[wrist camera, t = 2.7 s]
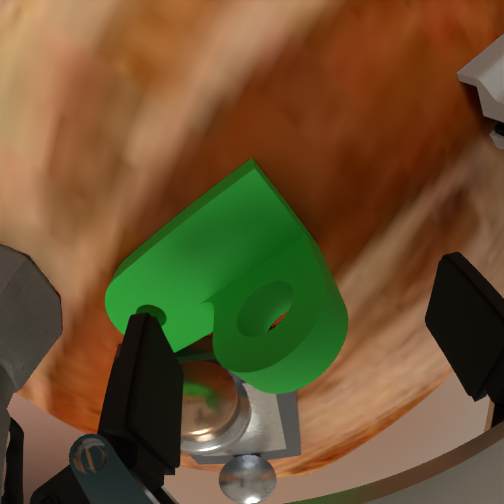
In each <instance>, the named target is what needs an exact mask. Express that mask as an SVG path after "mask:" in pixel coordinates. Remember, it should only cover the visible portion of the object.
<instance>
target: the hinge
mask: <svg viewBox="0 0 504 504" xmlns="http://www.w3.org/2000/svg"><path fill="white" fill-rule="evenodd" d="M456 74H457V76H458V79H459V81H461V82H464V83H467V84H470V85H474V86H476V87H477V90H478V94H479V98H480V102H481V107H482V111H483V116H486V117H489V118H491V121H494V122H497V124H496V125H495V126H494V130H493V131H492V132H491V133H490V136H491V138H492V140H493V142H494V144H495V146H496V147H497V148H500V149H502V150H504V34H503V35H501V36H500V37H499V38H498V39H496V40H495V41H494V42H493V43H492V44H490V45H489V46H488V47H487V48H486V49H484V50H483V51H482V52H481V53H480V54H478V55H477V56H476V57H475V58H474V59H473V60H471V61H470V62H469V63H468V64H467V65H465V66H464V67H463V68H462V69H461V70H459V71H458V72H457V73H456Z"/></svg>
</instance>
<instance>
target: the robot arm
mask: <svg viewBox="0 0 504 504" xmlns="http://www.w3.org/2000/svg"><path fill="white" fill-rule="evenodd" d="M425 323H426V326H427V328H428V329H429V331H430V332H431V334H432V336H433V337H434V339H435V340H436V342H437V343H438V345H439V347H440V348H441V350H442V352H443V353H444V355H445V356H446V358H447V360H448V361H449V363H450V365H451V367H452V368H453V370H454V372H455V373H456V375H457V377H458V378H459V380H460V382H461V384H462V386H463V387H464V389H465V391H466V393H467V394H468V395H469V396H472V398H473V400H474V401H475V402H476V401H478V400H480V399H482V398H483V397H485V396H486V395H487V394H488V396H489V397H490V402H489V409H488V414H487V420H486V425H485V429H484V433H483V434H481V435H479V436H478V437H476V438H474V439H472V440H470V441H469V442H467V443H465V444H463V445H461V446H459V447H457V448H455V449H453V450H452V451H449V452H447V453H445V454H443V455H441V456H439V457H437V458H435V459H432V460H430V461H428V462H426V463H423V464H421V465H419V466H416V467H414V468H412V469H409V470H406V471H404V472H401V473H398V474H396V475H393V476H390V477H388V478H385V479H382V480H379V481H376V482H373V483H369V484H367V485H363V486H360V487H357V488H353V489H349V490H345V491H342V492H338V493H334V494H330V495H326V496H321V497H317V498H312V499H307V500H302V501H296V502H291V503H285V504H504V299H503V297H502V296H501V295H500V294H499V293H498V292H497V291H496V290H495V288H494V287H493V286H492V285H491V284H490V283H489V282H488V281H487V280H486V279H485V278H484V277H483V276H482V275H481V273H480V272H479V271H478V270H477V269H476V268H475V267H474V266H473V265H472V264H471V263H470V262H469V261H468V260H467V259H466V258H465V257H464V256H463V255H462V254H461V253H459V252H454V253H450V254H446V255H443V257H442V259H441V260H440V261H439V264H438V268H437V272H436V277H435V281H434V285H433V289H432V293H431V297H430V301H429V305H428V309H427V312H426V316H425ZM183 383H184V374H183V370H182V367H181V365H180V363H179V361H178V359H177V357H176V356H175V354H174V352H173V350H172V348H171V346H170V344H169V342H168V340H167V338H166V336H165V334H164V332H163V330H162V327H161V325H160V323H159V321H158V319H157V317H156V316H151V315H150V313H148V312H146V313H139V314H132V315H131V316H130V318H129V321H128V324H127V328H126V331H125V335H124V339H123V342H122V346H121V350H120V354H119V357H117V358H116V359H115V360H114V363H113V366H112V370H111V374H110V378H109V382H108V386H107V390H106V394H105V399H104V403H103V408H102V412H101V417H100V422H99V427H98V432H97V434H94V433H91V434H85V435H83V436H81V437H79V438H78V439H77V440H76V441H75V442H74V443H73V445H72V446H71V448H70V453H69V463H70V464H69V465H68V466H67V467H66V468H64V469H63V470H62V471H60V472H59V473H58V474H57V475H55V476H54V477H53V478H51V479H50V480H48V481H47V482H46V483H44V484H43V485H42V486H41V487H39V488H38V489H37V490H36V491H35V492H34V493H33V494H32V496H31V499H30V504H179V503H178V502H177V501H176V500H175V499H174V497H173V496H172V495H171V494H170V493H169V492H168V491H167V490H166V489H165V487H164V486H163V485H164V475H175V468H178V467H179V466H180V450H181V421H182V400H183Z"/></svg>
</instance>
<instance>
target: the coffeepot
mask: <svg viewBox="0 0 504 504" xmlns="http://www.w3.org/2000/svg"><path fill="white" fill-rule="evenodd" d="M61 334H62V310H61V305H60V299H59V297H58V295H57V294H56V292H55V290H54V289H53V287H52V285H51V284H50V282H49V281H48V279H47V278H46V277H45V275H44V274H43V273H42V272H41V271H40V270H39V268H38V267H37V266H36V265H35V264H33V263H32V262H31V261H30V260H29V259H28V258H27V257H25V256H24V255H22V254H21V253H19V252H18V251H16V250H14V249H12V248H10V247H6V246H3V245H0V504H23V503H24V501H23V441H24V432H23V430H22V428H21V427H20V426H19V425H18V423H17V422H16V421H15V420H14V419H13V418H12V417H10V415H9V413H8V411H7V406H8V404H9V402H10V400H11V398H12V395H13V393H15V392H17V391H19V390H20V389H22V387H23V386H24V384H25V383H26V381H27V380H28V378H29V377H30V376H31V374H32V373H33V371H34V370H35V369H36V367H37V366H38V364H39V363H40V362H41V360H42V359H43V358H44V356H45V355H46V354H47V352H48V351H49V350H50V348H51V347H52V346H53V344H54V343H55V342H56V340H57V339H58V338H59V336H60V335H61ZM8 431H9V432H10V442H9V446H8V448H7V451H6V444H7V438H8ZM5 451H6V463H7V464H6V465H7V468H6V477H5V482H4V494H3V496H2V497H1V492H2V478H3V468H4V459H5Z"/></svg>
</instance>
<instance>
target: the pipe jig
mask: <svg viewBox="0 0 504 504" xmlns="http://www.w3.org/2000/svg"><path fill="white" fill-rule="evenodd" d="M273 328H275V327H272V328H269V329H268V331H267V332H269V331H270V330H272V329H273ZM121 346H122V345H118V348H117V351H116V355H115V358H114V360H115V359H116V358H117V357H119V354H120V350H121ZM174 354H175V356H176V357H177V359H178V361H179V363H180V365H181V367H182V370H183V374H184V383H183V400H182V421H181V450H180V451H182V452H185V453H188V454H189V455H190V456H191V457H192V458H193V459H194V460H195V461H196V462H197V463H198V464H199V465H201V464H225V465H224V467H223V468H222V470H221V472H220V475H219V485H220V488H221V490H222V492H223V493H224V494H225V495H226V496H227V497H228V498H229V499H231V500H232V501H234V502H236V503H239V504H257V503H259V502H262V501H264V500H265V499H267V498H268V497H269V496H270V495H271V494H272V493H273V491H274V489H275V487H276V474H275V471H274V469H273V467H272V466H271V464H270V463H269V462H267V461H266V460H271V459H278V458H285V457H292V456H298V455H301V447H300V435H299V423H298V411H297V400H296V390H295V391H292V392H288V393H283V394H270V393H265V392H262V391H259V390H258V389H256V388H254V387H253V386H251V385H250V384H248V383H247V382H245V381H244V380H242V379H241V378H239V377H238V376H236V375H235V374H233V373H232V372H231V371H229V370H228V369H226V368H225V367H224V366H222V365H221V364H220V363H219V361H218V360H217V358H216V356H215V354H214V350H213V336H208V337H202V338H201V339H199V340H197V341H195V342H194V343H192V344H190V345H188V346H186V347H185V348H183V349H181V350H179V351H177V352H175V353H174Z"/></svg>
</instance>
